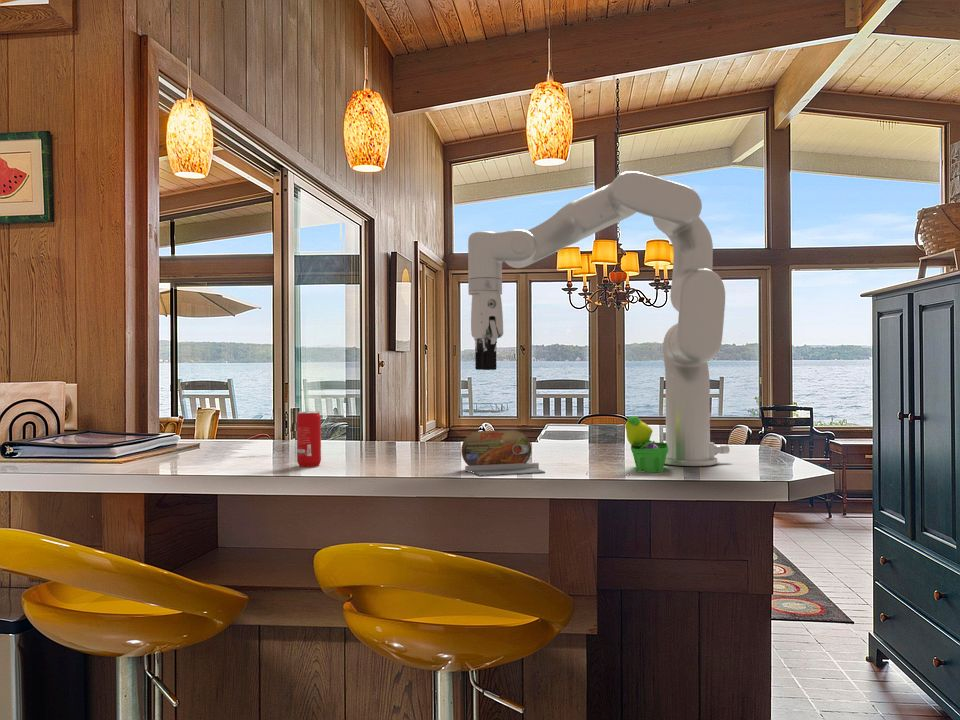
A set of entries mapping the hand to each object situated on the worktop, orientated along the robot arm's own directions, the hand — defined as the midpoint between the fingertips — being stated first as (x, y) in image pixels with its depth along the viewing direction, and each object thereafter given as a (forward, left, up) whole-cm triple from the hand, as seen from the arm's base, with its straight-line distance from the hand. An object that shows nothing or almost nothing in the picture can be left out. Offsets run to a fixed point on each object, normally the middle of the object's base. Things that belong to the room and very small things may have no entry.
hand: (485, 368), depth 172 cm
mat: (-1, +13, -21) cm, 25 cm away
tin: (0, +7, -22) cm, 23 cm away
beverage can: (+38, -11, -22) cm, 45 cm away
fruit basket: (-30, +18, -22) cm, 41 cm away
